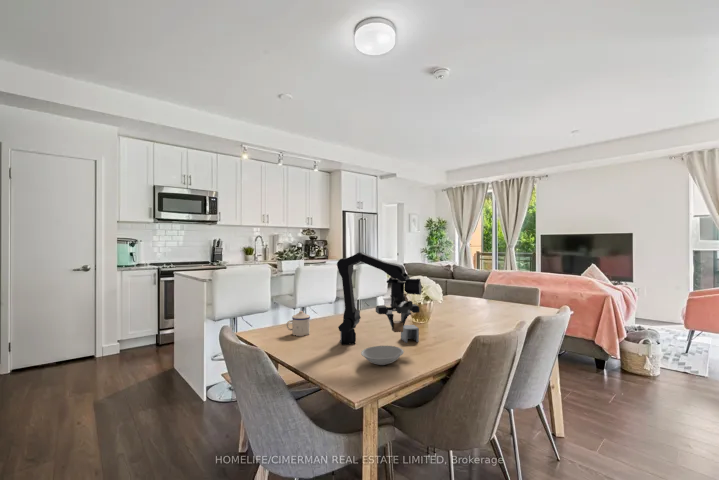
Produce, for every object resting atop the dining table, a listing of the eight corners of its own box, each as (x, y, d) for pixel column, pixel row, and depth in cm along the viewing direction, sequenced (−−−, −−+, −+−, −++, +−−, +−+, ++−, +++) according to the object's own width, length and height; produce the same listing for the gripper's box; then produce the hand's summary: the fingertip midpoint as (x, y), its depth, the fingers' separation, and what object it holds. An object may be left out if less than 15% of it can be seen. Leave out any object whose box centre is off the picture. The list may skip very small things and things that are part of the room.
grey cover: (405, 342, 162) (405, 328, 162) (400, 338, 169) (400, 325, 169) (418, 341, 164) (418, 328, 164) (413, 337, 170) (413, 324, 170)
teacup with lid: (307, 330, 182) (307, 308, 182) (312, 335, 174) (312, 312, 174) (284, 333, 178) (284, 310, 178) (288, 338, 169) (288, 314, 169)
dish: (375, 375, 124) (375, 361, 124) (353, 363, 136) (353, 350, 136) (412, 365, 133) (412, 352, 133) (388, 355, 145) (388, 343, 145)
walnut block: (394, 332, 151) (394, 323, 151) (391, 329, 155) (391, 321, 155) (403, 331, 152) (403, 322, 152) (400, 329, 156) (400, 320, 156)
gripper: (382, 297, 143) (382, 334, 144) (424, 295, 147) (424, 332, 147) (375, 292, 154) (375, 327, 154) (414, 291, 158) (414, 325, 158)
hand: (397, 328), depth 153 cm, fingers closed on walnut block, 4 cm apart
